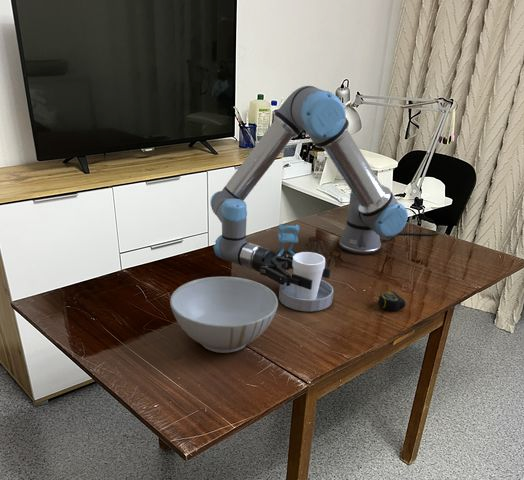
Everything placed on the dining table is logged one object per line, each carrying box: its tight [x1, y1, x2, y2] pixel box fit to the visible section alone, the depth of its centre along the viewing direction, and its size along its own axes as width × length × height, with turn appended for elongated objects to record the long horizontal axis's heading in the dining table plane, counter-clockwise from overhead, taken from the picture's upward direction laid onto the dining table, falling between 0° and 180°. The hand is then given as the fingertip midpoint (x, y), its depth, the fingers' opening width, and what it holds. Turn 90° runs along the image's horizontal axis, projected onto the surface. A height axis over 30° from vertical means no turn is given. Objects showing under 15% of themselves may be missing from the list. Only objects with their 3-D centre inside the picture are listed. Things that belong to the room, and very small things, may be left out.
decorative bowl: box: [169, 276, 279, 354], centre depth 140 cm, size 27×27×12 cm
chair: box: [276, 223, 300, 257], centre depth 190 cm, size 8×8×12 cm
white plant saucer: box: [278, 279, 335, 312], centre depth 164 cm, size 16×16×4 cm
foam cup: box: [292, 251, 326, 300], centre depth 161 cm, size 10×9×13 cm
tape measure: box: [378, 291, 407, 311], centre depth 162 cm, size 7×7×4 cm
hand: (320, 279), depth 158 cm, fingers closed on foam cup, 9 cm apart
